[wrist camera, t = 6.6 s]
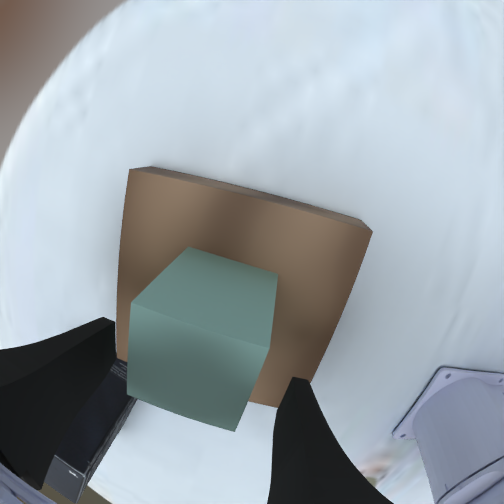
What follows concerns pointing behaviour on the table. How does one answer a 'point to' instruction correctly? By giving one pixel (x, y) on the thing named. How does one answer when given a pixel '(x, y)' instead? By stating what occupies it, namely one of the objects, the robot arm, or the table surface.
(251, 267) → the teal block
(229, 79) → the table surface
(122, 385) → the small box
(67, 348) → the robot arm
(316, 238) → the walnut slab
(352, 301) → the table surface
